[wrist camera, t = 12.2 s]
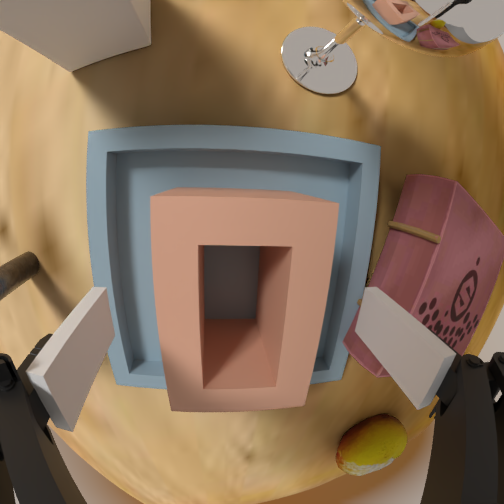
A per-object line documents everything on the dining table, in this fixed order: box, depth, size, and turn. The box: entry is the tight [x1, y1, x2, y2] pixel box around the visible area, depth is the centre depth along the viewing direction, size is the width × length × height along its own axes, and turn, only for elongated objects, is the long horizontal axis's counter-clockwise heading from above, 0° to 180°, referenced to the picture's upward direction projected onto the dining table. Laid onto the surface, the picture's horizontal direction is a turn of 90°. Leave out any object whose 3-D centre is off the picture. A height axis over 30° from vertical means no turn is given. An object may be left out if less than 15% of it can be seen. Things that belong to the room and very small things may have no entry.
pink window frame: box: [150, 187, 339, 412], centre depth 17 cm, size 14×8×8 cm, turn 177°
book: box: [342, 174, 504, 377], centre depth 20 cm, size 14×15×5 cm
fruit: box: [336, 414, 407, 476], centre depth 28 cm, size 11×10×8 cm
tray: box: [86, 125, 381, 389], centre depth 20 cm, size 20×20×2 cm
